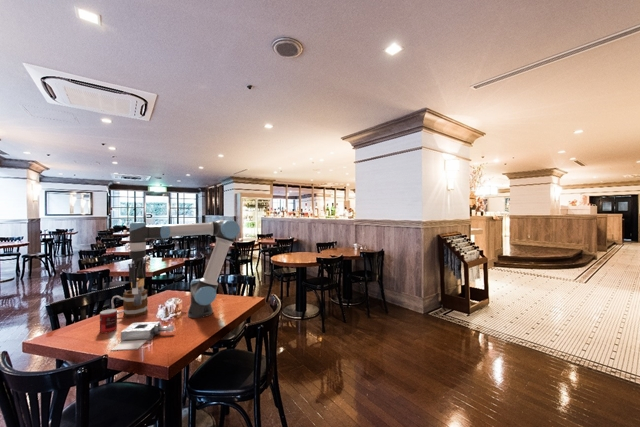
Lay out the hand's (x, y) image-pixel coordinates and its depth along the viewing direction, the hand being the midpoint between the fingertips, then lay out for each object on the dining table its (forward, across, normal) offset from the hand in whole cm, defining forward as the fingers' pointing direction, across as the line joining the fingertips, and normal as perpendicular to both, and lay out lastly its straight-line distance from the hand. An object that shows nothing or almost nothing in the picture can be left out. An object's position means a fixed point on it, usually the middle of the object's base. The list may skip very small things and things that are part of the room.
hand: (137, 292), depth 152 cm
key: (+7, 0, 0) cm, 7 cm away
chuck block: (+23, +3, +8) cm, 24 cm away
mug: (+23, -30, -21) cm, 43 cm away
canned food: (+23, -6, -19) cm, 30 cm away
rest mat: (+23, +15, +4) cm, 27 cm away
